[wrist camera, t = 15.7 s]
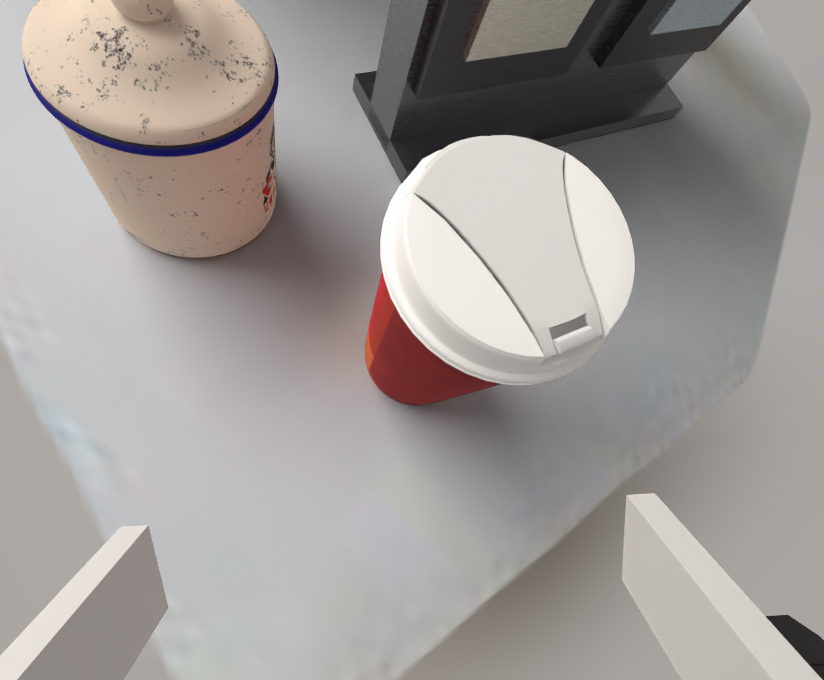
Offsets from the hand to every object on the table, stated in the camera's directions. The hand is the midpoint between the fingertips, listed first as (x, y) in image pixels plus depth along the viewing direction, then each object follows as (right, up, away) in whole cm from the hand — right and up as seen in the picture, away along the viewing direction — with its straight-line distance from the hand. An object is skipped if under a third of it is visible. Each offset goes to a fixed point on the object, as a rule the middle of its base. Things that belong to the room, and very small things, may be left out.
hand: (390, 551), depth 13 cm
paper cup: (+1, +5, +13) cm, 14 cm away
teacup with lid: (-12, +15, +14) cm, 24 cm away
